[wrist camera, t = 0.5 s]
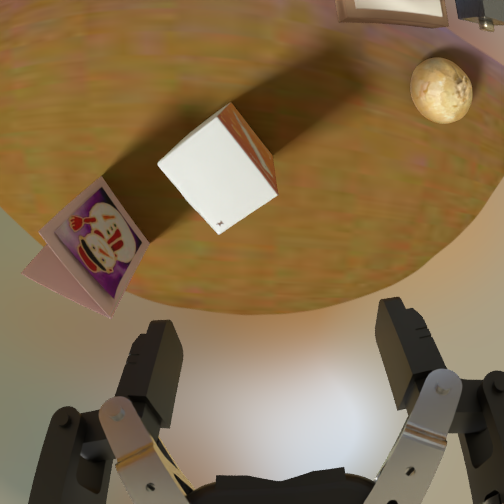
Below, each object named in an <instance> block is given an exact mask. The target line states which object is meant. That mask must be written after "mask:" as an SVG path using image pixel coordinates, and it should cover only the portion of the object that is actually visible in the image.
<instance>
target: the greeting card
mask: <svg viewBox="0 0 504 504" xmlns="http://www.w3.org/2000/svg"><path fill="white" fill-rule="evenodd" d="M39 233H40V235H41V236H42V237H43V239H44V240H45V241H46V243H47V245H46V246H45V247H44V248H43V249H42V250H41V251H40V252H39V253H38V255H37V256H36V257H35V258H34V259H33V260H32V261H31V262H30V263H29V264H28V266H27V267H26V268H25V269H24V270H23V272H22V273H21V274H22V275H24V276H26V277H28V278H30V279H32V280H33V281H35V282H37V283H39V284H41V285H43V286H45V287H47V288H49V289H50V290H52V291H54V292H56V293H58V294H60V295H62V296H64V297H66V298H68V299H70V300H72V301H74V302H76V303H78V304H80V305H83V306H85V307H87V308H89V309H91V310H93V311H95V312H97V313H100V314H102V315H104V316H106V317H108V318H110V319H112V316H113V314H114V312H115V310H116V308H117V306H118V304H119V302H120V300H121V298H122V296H123V294H124V292H125V290H126V288H127V286H128V284H129V282H130V280H131V278H132V276H133V274H134V272H135V270H136V268H137V266H138V265H139V263H140V261H141V259H142V257H143V255H144V253H145V251H146V249H147V248H148V246H149V244H150V243H149V242H148V240H147V239H146V238H145V236H144V235H143V234H142V232H141V231H140V230H139V228H138V227H137V226H136V224H135V223H134V221H133V220H132V219H131V217H130V216H129V215H128V213H127V212H126V210H125V209H124V208H123V206H122V205H121V203H120V202H119V201H118V199H117V198H116V196H115V195H114V193H113V192H112V191H111V189H110V188H109V186H108V185H107V183H106V182H105V180H104V179H103V177H102V176H101V177H100V178H98V179H97V180H96V181H95V182H94V183H92V184H91V185H90V186H89V187H87V188H86V189H85V190H84V191H83V192H82V193H80V194H79V195H78V196H77V197H76V198H75V199H73V200H72V201H71V202H70V203H69V204H68V205H67V206H66V207H64V208H63V209H62V210H61V211H60V212H59V213H58V214H57V215H56V216H54V217H53V218H52V219H51V220H50V221H49V222H48V223H47V224H46V225H45V226H44V227H43V228H42V229H41V230H40V231H39Z"/></svg>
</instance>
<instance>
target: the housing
mask: <svg viewBox="0 0 504 504" xmlns="http://www.w3.org/2000/svg"><path fill="white" fill-rule="evenodd" d="M455 3H456V9H457V14H458V19H461V20H466V21H470V22H474V23H478V24H479V27H480V29H481V30H484V31H491V32H493V31H494V25H504V0H455Z"/></svg>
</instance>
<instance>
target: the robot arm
mask: <svg viewBox="0 0 504 504" xmlns="http://www.w3.org/2000/svg"><path fill="white" fill-rule="evenodd" d="M375 336H376V342H377V345H378V348H379V351H380V354H381V357H382V361H383V364H384V367H385V370H386V373H387V376H388V380H389V383H390V386H391V390H392V393H393V396H394V400H395V404H396V407H397V410H402V409H407V413H408V417H407V419H406V422H405V424H404V426H403V428H402V430H401V432H400V434H399V436H398V438H397V440H396V442H395V444H394V446H393V448H392V450H391V451H390V453H389V455H388V457H387V459H386V461H385V462H384V464H383V466H382V467H381V469H380V471H379V473H378V474H377V476H376V478H375V479H374V481H372V480H370V479H368V478H365V477H362V476H359V475H354V474H348V473H345V469H344V467H341V468H334V469H328V470H319V471H312V472H309V473H306V474H303V475H300V476H298V477H294V478H291V479H288V480H284V481H273V480H267V479H262V478H257V477H252V476H224V475H217V476H216V482H213V483H210V484H207V485H204V486H202V487H199V488H198V489H195V488H194V487H193V485H192V484H191V483H190V482H189V480H188V479H187V478H186V477H185V476H184V474H183V473H182V472H181V470H180V469H179V467H178V466H177V464H176V463H175V461H174V460H173V458H172V456H171V455H170V453H169V452H168V450H167V449H166V447H165V445H164V444H163V442H162V440H161V439H160V437H159V431H160V428H170V424H171V418H172V413H173V408H174V403H175V397H176V392H177V387H178V382H179V377H180V372H181V367H182V362H183V349H182V345H181V342H180V340H179V338H178V335H177V333H176V330H175V328H174V326H173V323H172V322H171V320H155V321H151V322H150V324H149V327H148V330H147V333H146V334H140V335H139V336H138V338H137V339H136V340H135V342H134V343H133V344H132V347H131V350H130V353H129V356H128V358H127V361H126V365H125V367H124V370H123V373H122V376H121V379H120V382H119V385H118V388H117V391H116V394H115V397H113V398H110V399H108V400H107V401H105V403H104V404H103V405H102V406H101V408H100V409H99V410H95V411H91V412H86V413H79V412H78V411H77V410H76V409H75V408H73V407H70V406H66V407H62V408H60V409H59V410H57V411H56V412H55V413H54V415H53V416H52V418H51V421H50V424H49V427H48V431H47V434H46V437H45V440H44V444H43V447H42V451H41V454H40V458H39V461H38V465H37V469H36V473H35V476H34V480H33V485H32V489H31V493H30V498H29V503H28V504H106V499H107V492H108V486H109V480H110V474H111V468H112V463H113V459H117V464H115V468H116V470H117V473H118V475H119V477H120V479H121V481H122V483H123V485H124V487H125V489H126V491H127V493H128V494H129V496H130V498H131V500H132V502H133V504H421V502H422V500H423V498H424V496H425V494H426V492H427V490H428V488H429V486H430V484H431V481H432V479H433V477H434V475H435V473H436V471H437V468H438V466H439V464H440V461H441V459H442V456H443V454H444V451H445V448H446V446H447V441H446V437H447V434H448V433H458V436H459V440H460V444H461V448H462V452H463V456H464V460H465V465H466V469H467V474H468V479H469V484H470V489H471V494H472V500H473V504H504V372H502V371H492V372H490V373H488V374H487V375H486V376H485V378H484V380H465V379H460V378H459V376H458V375H457V374H456V373H455V372H453V371H451V370H448V369H447V368H446V366H445V364H444V361H443V359H442V357H441V355H440V353H439V351H438V348H437V346H436V344H435V342H434V340H433V338H432V337H431V333H430V331H429V329H427V325H426V323H425V321H424V319H423V317H422V316H421V315H420V314H419V313H418V312H417V311H415V310H414V309H413V308H410V309H406V308H405V306H404V304H403V302H402V300H401V299H400V297H393V298H387V299H381V300H380V302H379V306H378V313H377V320H376V326H375Z"/></svg>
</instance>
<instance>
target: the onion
mask: <svg viewBox="0 0 504 504" xmlns="http://www.w3.org/2000/svg"><path fill="white" fill-rule="evenodd" d="M410 92H411V96H412V100H413V102H414V104H415V106H416V108H417V109H418V110H419V112H420V113H421V114H422V115H423V116H424V117H426V118H427V119H429V120H431V121H433V122H436V123H441V124H447V123H451V122H455V121H458V120H460V119H461V118H462V117H463V116H464V115H465V114H466V113H467V111H468V109H469V107H470V105H471V102H472V85H471V82H470V80H469V78H468V76H467V75H466V74H465V73H464V72H463V70H462V69H461V68H460V67H458V66H457V65H456V64H455V63H453V62H452V61H450V60H448V59H445V58H440V57H436V58H429V59H426V60H424V61H423V62H421V63H420V64H419V65H418V66H417V67H416V68H415V70H414V71H413V74H412V76H411V83H410Z"/></svg>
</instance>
